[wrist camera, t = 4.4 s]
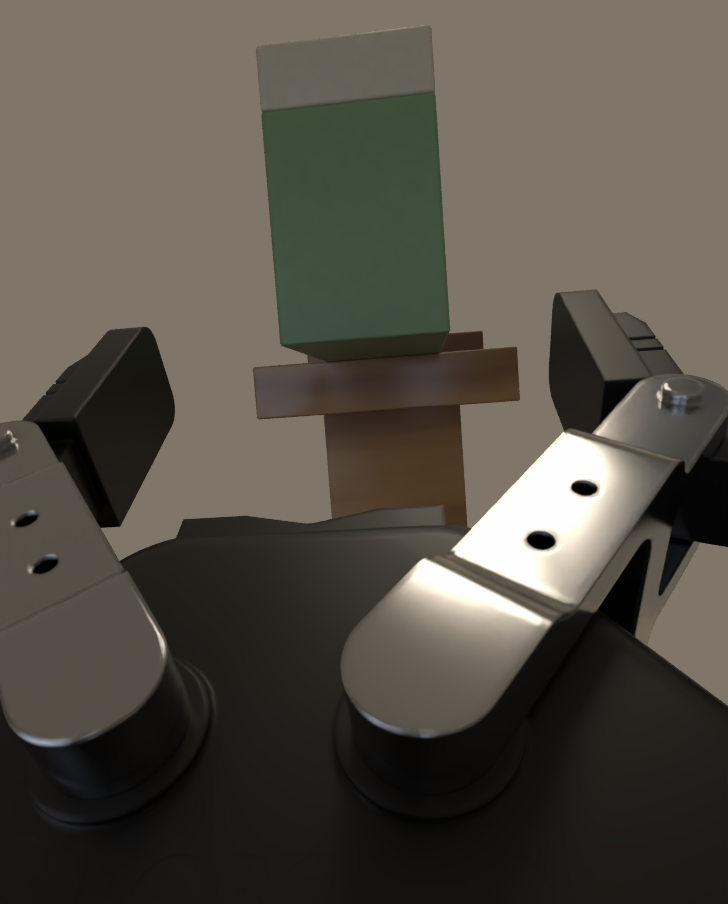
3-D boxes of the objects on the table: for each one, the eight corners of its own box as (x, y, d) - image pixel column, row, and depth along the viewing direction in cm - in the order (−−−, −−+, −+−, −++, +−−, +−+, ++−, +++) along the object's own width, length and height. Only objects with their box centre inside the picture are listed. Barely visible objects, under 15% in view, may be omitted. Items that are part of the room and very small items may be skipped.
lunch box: (450, 332, 17) (431, 23, 16) (280, 346, 17) (254, 44, 17) (434, 366, 37) (425, 227, 36) (355, 372, 37) (345, 235, 36)
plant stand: (560, 1135, 27) (514, 297, 24) (318, 1128, 28) (248, 320, 25) (512, 883, 41) (480, 332, 38) (352, 884, 42) (309, 346, 39)
